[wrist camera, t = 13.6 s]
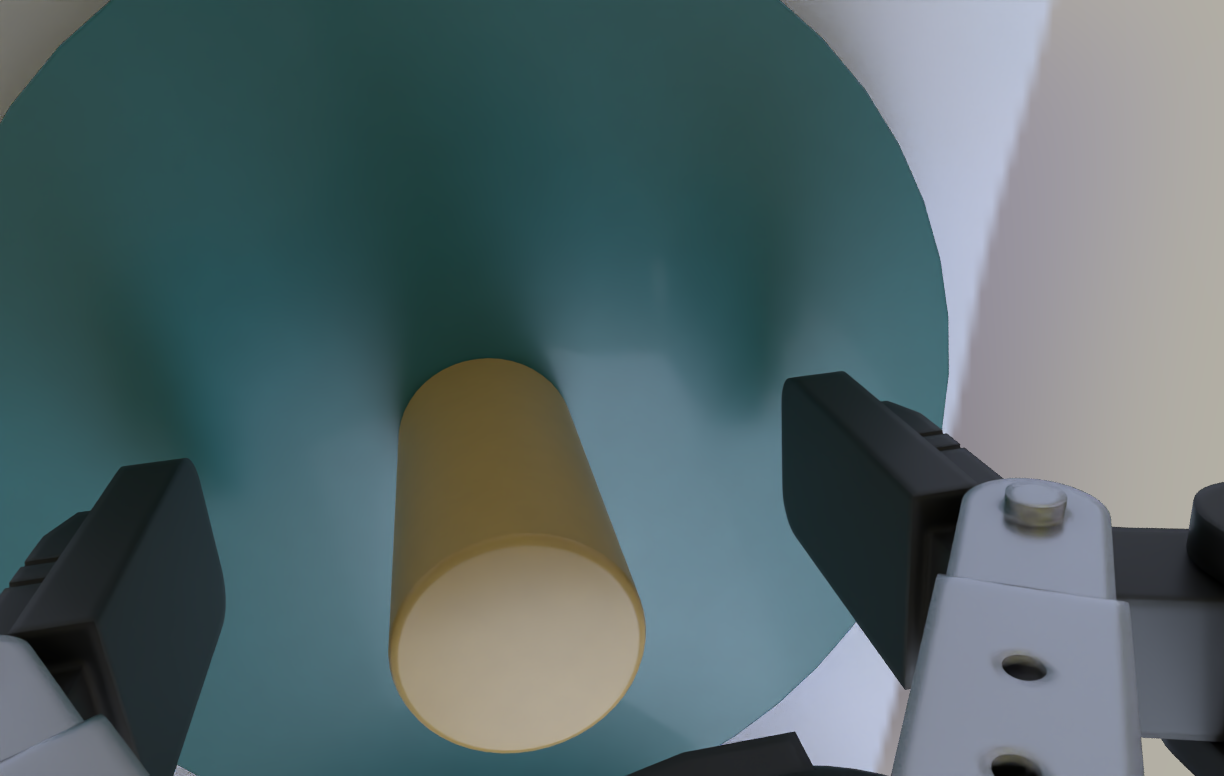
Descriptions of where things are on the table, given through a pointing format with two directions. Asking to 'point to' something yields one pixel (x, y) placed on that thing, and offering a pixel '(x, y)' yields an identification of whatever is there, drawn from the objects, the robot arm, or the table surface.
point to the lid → (460, 355)
